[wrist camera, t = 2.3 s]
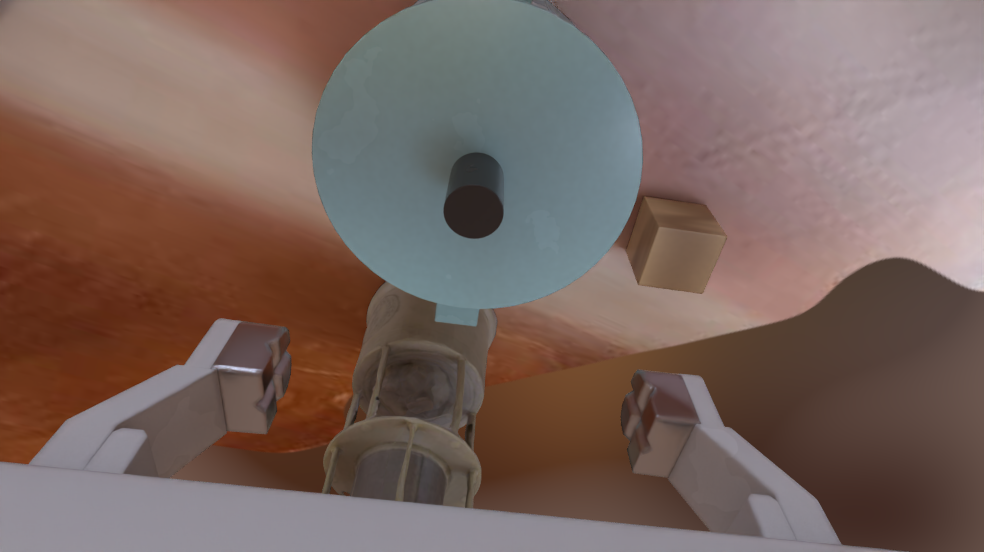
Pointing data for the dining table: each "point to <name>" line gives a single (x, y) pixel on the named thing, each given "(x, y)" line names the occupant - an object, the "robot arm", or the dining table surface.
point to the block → (674, 245)
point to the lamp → (413, 406)
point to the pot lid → (477, 152)
